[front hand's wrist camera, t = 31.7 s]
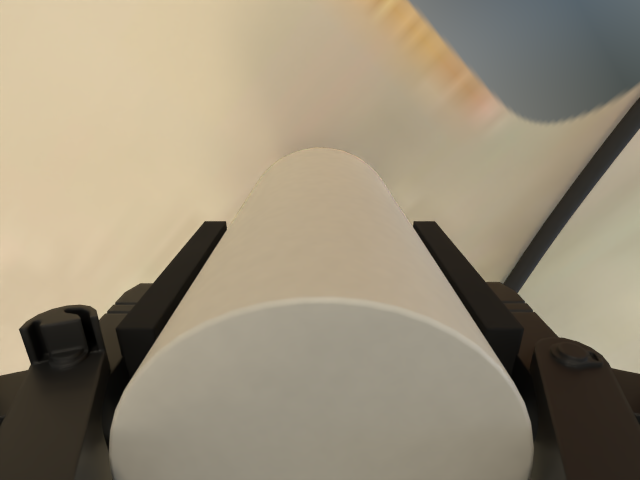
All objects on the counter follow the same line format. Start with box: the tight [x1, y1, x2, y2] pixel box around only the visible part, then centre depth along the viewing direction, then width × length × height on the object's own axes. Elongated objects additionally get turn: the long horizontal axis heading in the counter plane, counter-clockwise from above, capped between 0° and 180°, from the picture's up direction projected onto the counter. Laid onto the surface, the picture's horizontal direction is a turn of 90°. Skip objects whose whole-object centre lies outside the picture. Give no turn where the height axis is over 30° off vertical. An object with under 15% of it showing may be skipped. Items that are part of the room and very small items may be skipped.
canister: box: [109, 147, 534, 480], centre depth 12 cm, size 7×7×13 cm
